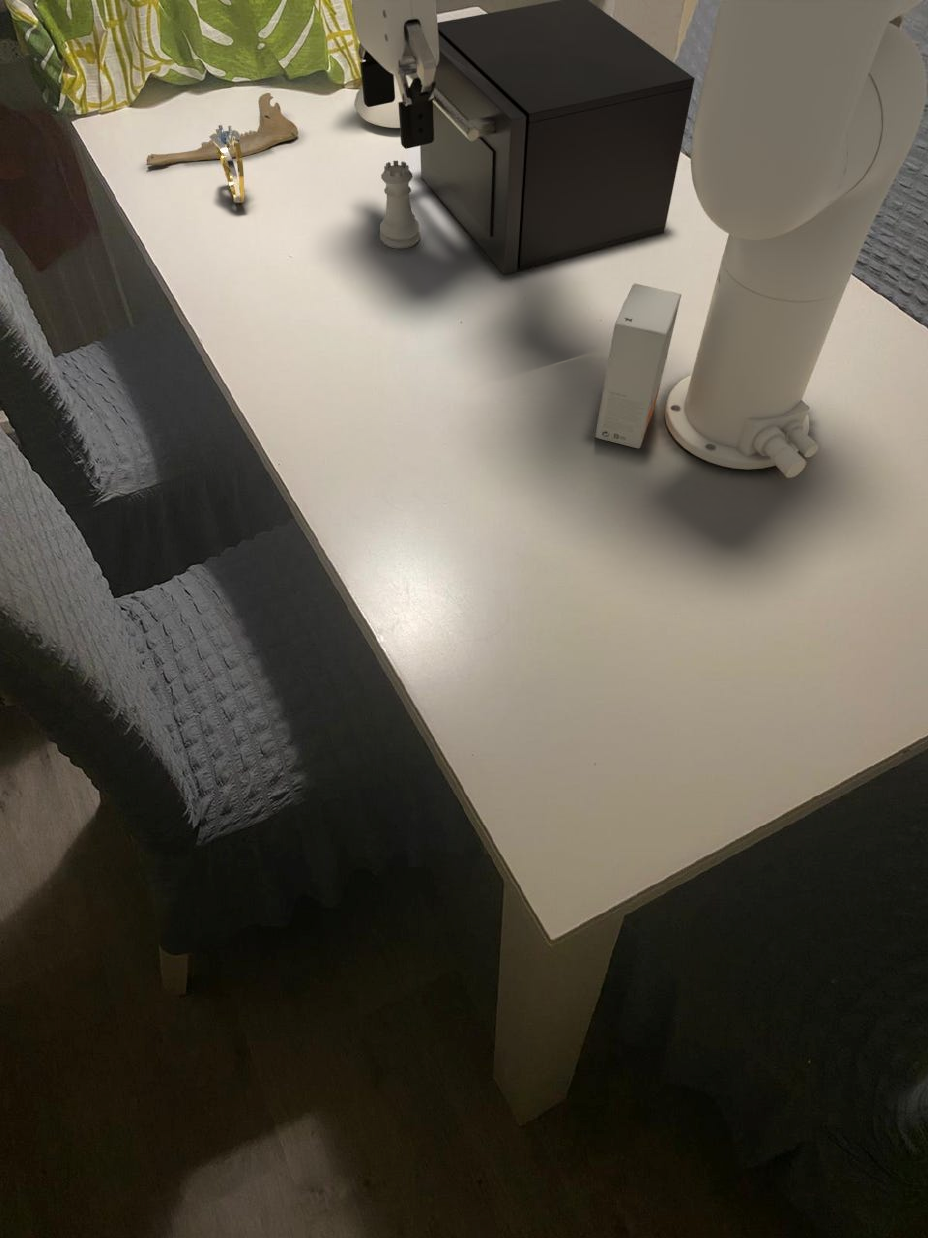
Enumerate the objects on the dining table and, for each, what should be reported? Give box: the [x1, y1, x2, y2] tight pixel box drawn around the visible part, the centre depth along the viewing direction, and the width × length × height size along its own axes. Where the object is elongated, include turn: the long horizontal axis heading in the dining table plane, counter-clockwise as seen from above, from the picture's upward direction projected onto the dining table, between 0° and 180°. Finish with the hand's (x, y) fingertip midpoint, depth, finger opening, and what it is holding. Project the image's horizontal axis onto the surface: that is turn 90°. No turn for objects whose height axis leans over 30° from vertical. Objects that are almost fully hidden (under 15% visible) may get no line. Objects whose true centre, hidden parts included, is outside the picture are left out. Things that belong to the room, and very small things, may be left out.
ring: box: [208, 124, 245, 204], centre depth 100 cm, size 7×3×8 cm, turn 19°
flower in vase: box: [353, 75, 412, 129], centre depth 105 cm, size 13×11×25 cm
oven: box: [437, 0, 696, 272], centre depth 97 cm, size 18×22×16 cm
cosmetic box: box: [594, 283, 682, 449], centre depth 76 cm, size 6×4×12 cm
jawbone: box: [145, 92, 299, 166], centre depth 109 cm, size 9×20×2 cm, turn 140°
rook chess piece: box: [379, 160, 421, 250], centre depth 95 cm, size 4×4×8 cm
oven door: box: [400, 34, 526, 276], centre depth 94 cm, size 5×22×16 cm, turn 25°
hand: (398, 123), depth 88 cm, fingers open, 9 cm apart
